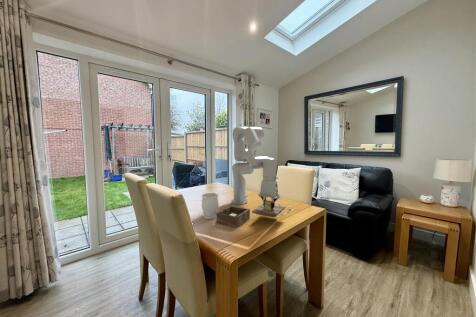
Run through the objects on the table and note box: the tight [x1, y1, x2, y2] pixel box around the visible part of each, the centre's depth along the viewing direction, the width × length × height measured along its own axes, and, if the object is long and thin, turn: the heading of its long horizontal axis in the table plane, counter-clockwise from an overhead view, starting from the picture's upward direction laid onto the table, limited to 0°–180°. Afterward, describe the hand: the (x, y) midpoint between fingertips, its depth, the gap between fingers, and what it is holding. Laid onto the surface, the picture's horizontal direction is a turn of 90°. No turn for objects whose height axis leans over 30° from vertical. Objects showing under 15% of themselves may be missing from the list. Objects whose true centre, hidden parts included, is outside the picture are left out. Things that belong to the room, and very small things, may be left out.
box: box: [215, 205, 251, 229], centre depth 130 cm, size 16×14×7 cm
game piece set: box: [277, 201, 292, 215], centre depth 152 cm, size 19×20×4 cm
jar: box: [201, 192, 219, 220], centre depth 137 cm, size 11×10×15 cm
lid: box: [251, 199, 286, 218], centre depth 130 cm, size 17×15×7 cm
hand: (268, 207), depth 130 cm, fingers closed on lid, 4 cm apart
